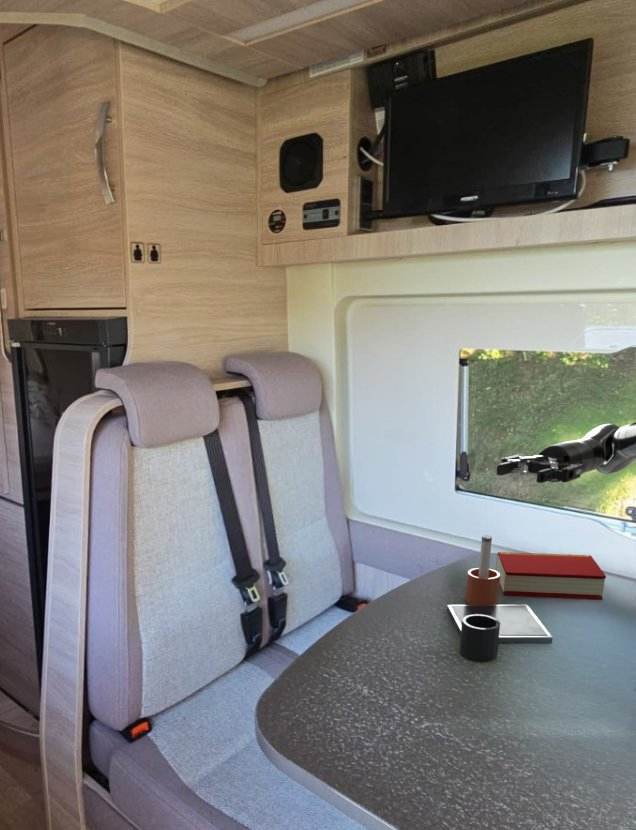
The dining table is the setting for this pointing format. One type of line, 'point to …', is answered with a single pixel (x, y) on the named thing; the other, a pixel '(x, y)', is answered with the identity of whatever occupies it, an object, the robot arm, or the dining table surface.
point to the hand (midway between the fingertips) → (518, 473)
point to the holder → (479, 637)
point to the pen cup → (482, 588)
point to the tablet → (506, 622)
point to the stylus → (485, 556)
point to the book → (550, 575)
